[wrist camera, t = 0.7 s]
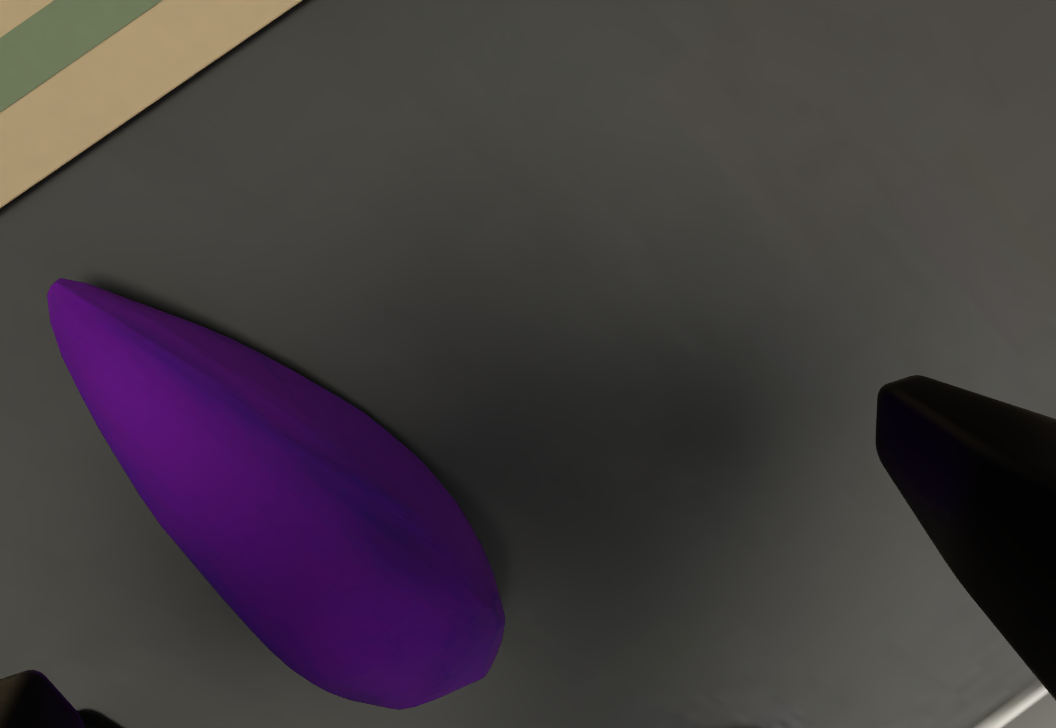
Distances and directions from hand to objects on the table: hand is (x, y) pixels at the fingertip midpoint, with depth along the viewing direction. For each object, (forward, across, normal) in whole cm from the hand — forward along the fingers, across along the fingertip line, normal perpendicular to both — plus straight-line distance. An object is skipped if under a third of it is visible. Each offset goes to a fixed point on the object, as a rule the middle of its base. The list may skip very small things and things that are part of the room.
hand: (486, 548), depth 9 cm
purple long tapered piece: (+12, +4, +7) cm, 15 cm away
